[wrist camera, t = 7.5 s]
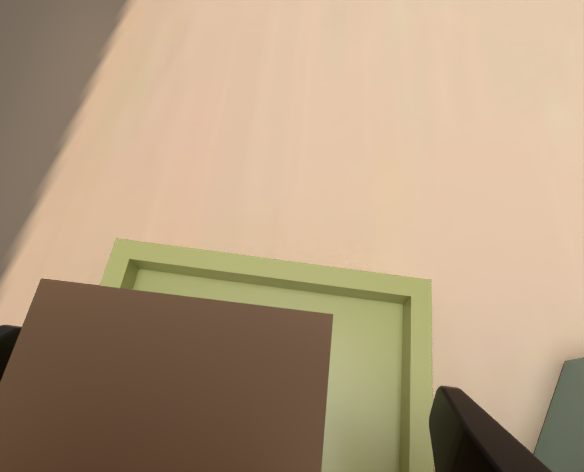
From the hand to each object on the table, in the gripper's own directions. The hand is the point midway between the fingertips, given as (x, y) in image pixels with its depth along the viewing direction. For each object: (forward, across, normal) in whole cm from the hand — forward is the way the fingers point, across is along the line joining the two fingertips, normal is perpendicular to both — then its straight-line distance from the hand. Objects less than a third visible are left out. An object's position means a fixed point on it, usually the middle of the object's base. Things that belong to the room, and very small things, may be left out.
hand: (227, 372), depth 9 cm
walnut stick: (+4, 0, +6) cm, 8 cm away
